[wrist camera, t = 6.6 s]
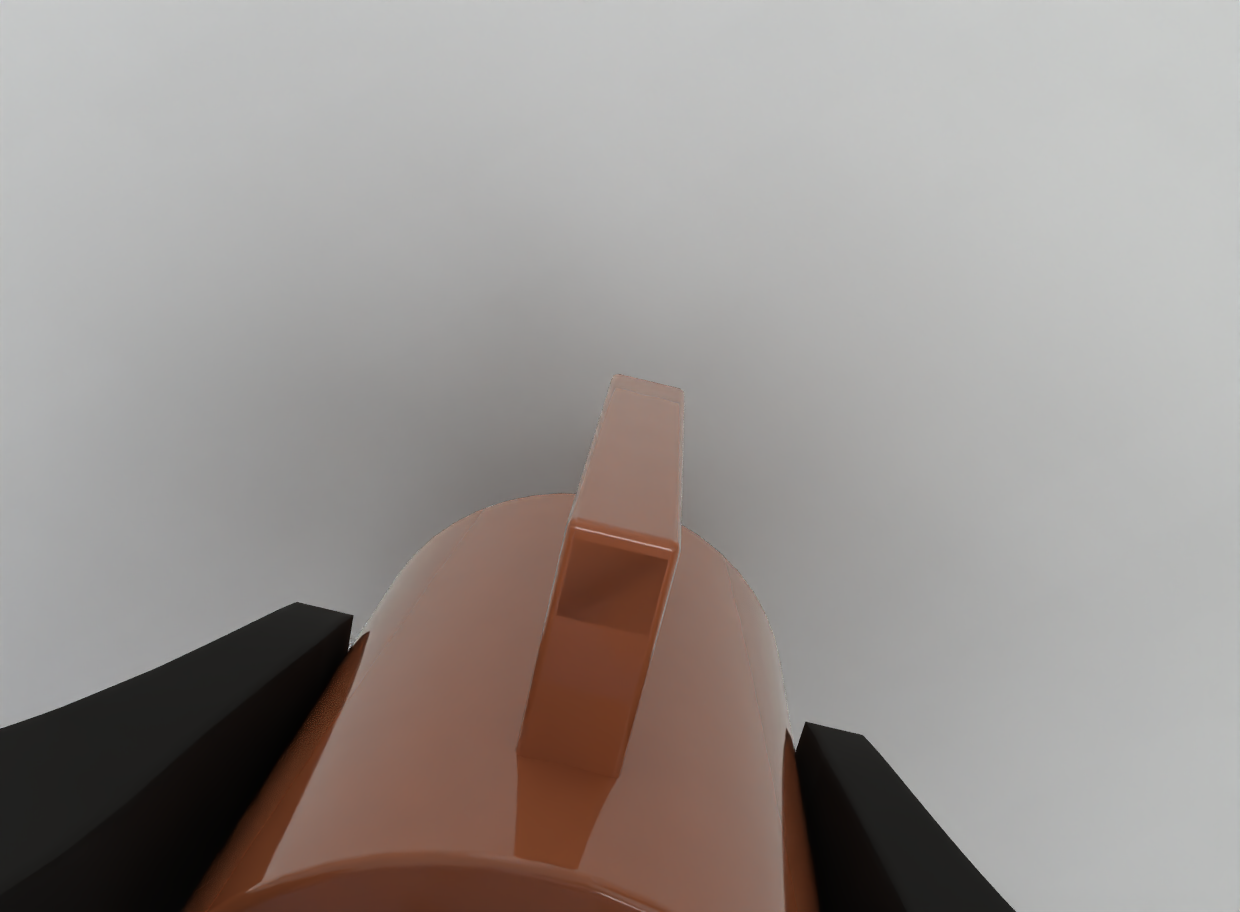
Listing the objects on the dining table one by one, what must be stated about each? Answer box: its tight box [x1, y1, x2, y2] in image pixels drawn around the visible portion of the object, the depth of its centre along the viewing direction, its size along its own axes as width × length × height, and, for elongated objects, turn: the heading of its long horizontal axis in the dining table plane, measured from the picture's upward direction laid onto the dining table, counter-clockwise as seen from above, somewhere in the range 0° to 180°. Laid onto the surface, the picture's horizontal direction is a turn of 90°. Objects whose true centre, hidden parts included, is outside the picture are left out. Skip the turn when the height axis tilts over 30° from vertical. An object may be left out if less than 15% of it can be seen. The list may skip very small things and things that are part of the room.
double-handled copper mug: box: [180, 374, 821, 912], centre depth 9 cm, size 5×7×6 cm, turn 167°
